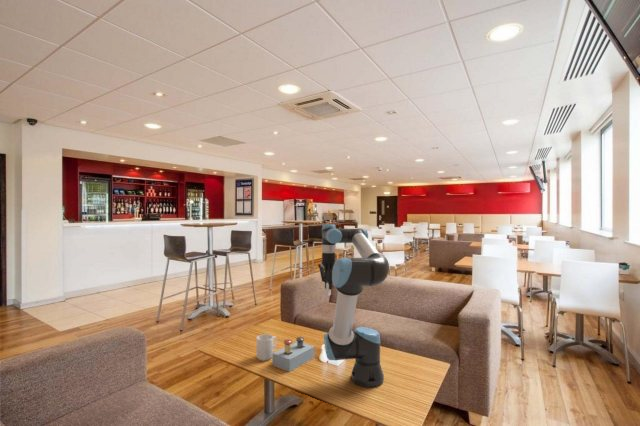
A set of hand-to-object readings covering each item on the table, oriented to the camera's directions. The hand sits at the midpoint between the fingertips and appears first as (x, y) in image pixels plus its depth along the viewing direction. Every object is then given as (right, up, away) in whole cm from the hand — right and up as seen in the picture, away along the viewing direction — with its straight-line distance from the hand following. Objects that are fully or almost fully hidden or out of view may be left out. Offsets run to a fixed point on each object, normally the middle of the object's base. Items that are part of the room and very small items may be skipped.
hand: (328, 295), depth 176 cm
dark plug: (-16, -32, -3) cm, 36 cm away
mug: (-34, -34, -2) cm, 47 cm away
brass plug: (-22, -30, -11) cm, 39 cm away
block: (-19, -33, -7) cm, 39 cm away
